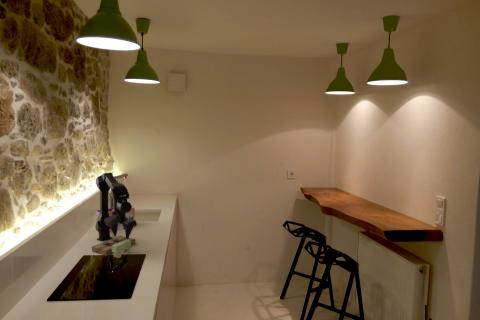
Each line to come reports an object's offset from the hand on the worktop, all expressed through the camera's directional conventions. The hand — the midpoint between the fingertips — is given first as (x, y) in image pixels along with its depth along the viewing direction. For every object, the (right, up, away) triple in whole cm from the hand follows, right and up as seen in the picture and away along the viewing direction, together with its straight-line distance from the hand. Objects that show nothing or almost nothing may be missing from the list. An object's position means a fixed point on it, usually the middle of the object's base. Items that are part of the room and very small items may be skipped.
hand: (121, 237), depth 184 cm
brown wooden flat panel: (-8, -8, +11) cm, 16 cm away
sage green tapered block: (0, -10, +1) cm, 10 cm away
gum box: (-19, -5, +46) cm, 50 cm away
